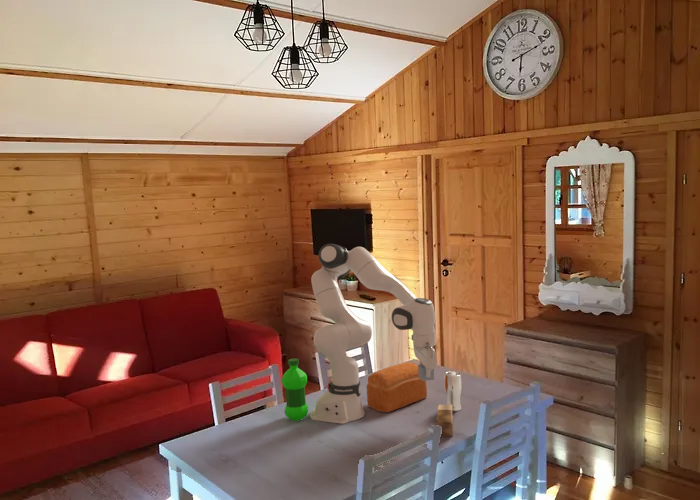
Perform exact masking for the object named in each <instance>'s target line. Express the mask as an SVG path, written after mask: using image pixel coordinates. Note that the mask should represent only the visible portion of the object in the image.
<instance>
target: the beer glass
mask: <svg viewBox="0 0 700 500" xmlns="http://www.w3.org/2000/svg"><path fill="white" fill-rule="evenodd" d="M462 386H463V385H462V373H461V372H460V371H457V370H455V371H454V370H451V371H446V372H445V373H444V390H445V394H446V401H447V402H446V405H452V412H459V411H461V410H462V405H461V396H462V395H461V394H462Z"/></svg>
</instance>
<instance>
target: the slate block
mask: <svg viewBox="0 0 700 500" xmlns="http://www.w3.org/2000/svg"><path fill="white" fill-rule="evenodd" d="M417 365H418V377H419V378H420V379H421V381H425V380H426V381H434V380H435V369H434V370H431V377H426V376H425V372H426V368H425V366H424V365H423V364H420V363H419V364H417Z"/></svg>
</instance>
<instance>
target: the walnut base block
mask: <svg viewBox="0 0 700 500" xmlns="http://www.w3.org/2000/svg"><path fill="white" fill-rule="evenodd" d="M436 425H439V426H441V427H442V434H441V436H440V437H453V436H454V430H455V429H454V417H453V418H452V423H442V422H438V416H437V417H436V422H435V426H436Z"/></svg>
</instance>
